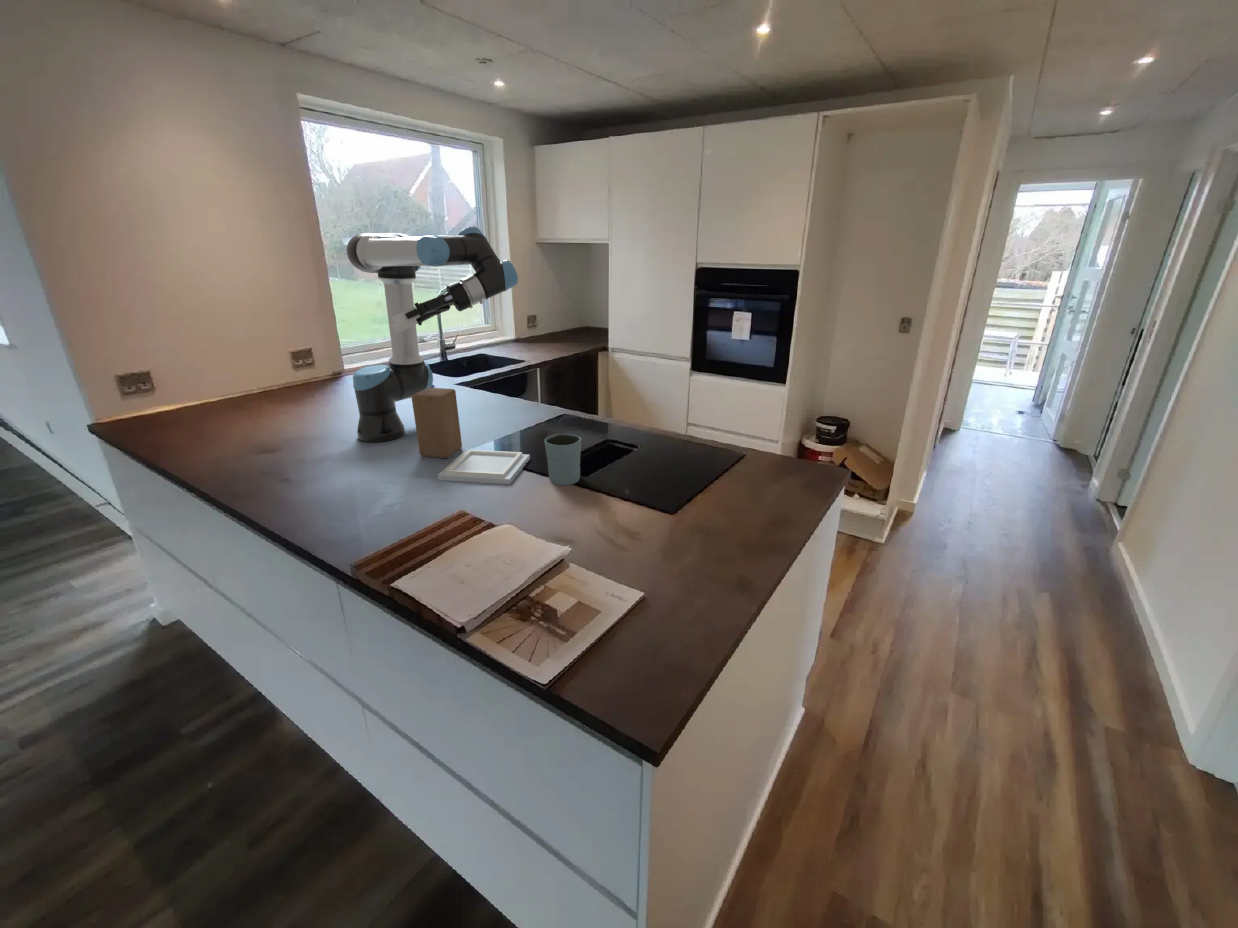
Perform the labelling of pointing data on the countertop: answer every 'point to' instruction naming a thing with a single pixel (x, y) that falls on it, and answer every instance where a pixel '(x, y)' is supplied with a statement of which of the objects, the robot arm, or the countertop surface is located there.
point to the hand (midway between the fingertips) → (393, 325)
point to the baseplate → (485, 467)
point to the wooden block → (437, 422)
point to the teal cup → (563, 458)
